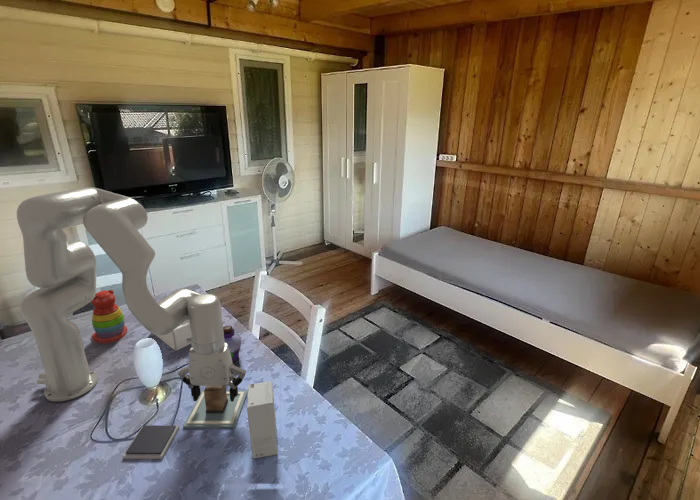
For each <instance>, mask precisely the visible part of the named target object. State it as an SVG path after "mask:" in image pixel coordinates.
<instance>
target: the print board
mask: <svg viewBox="0 0 700 500" xmlns="http://www.w3.org/2000/svg"><path fill="white" fill-rule="evenodd" d="M200 392H201V394H200V396H199V398H198V399H197V401H195V402H194V405H193V407H192V409H191V410H190V412H189V414H188V416H187V418H186V420H185V421H184V424H183V425H182V428H183V429H236V426H237V423H238V420H239V418H240V415H241V413H242V409H243V406H244V404H245V402H246V398H247V395H248V390H238V395H237V397H235V399H234V401H233V402H231V401H230V391H229V390H226V393H227V399H228V403H227V405H226V408H225V410H224V412H223V413H206V404H205V397H204V390H200Z"/></svg>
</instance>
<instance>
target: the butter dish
mask: <svg viewBox="0 0 700 500" xmlns="http://www.w3.org/2000/svg"><path fill="white" fill-rule="evenodd" d="M155 336H156V338H158V339H160V340H161V341H162V342H164V343H165V344H166V345H167V346H169V347H170V348H171V349H172V350H174V351H175V352H177V351H179V350H181V349H183V348H185V347H187V346H189V345H191V344H190V343H187V338H191V330H190V323H189V320H186V321H184V322H183V323H182V324H181V325H180V326H178V327H177V328H176V329H175V330H173V331H172V332H171V333H169V334H167V335H162V336H160V335H155Z"/></svg>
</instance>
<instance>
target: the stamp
mask: <svg viewBox="0 0 700 500" xmlns="http://www.w3.org/2000/svg"><path fill="white" fill-rule="evenodd" d="M203 391H204V397H205V404H206V413H223V412H224V410H225V408H226V405H227V403H228V399H227V393H226V391H227V385H224V386H205V388H204V390H203Z"/></svg>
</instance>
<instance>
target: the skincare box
mask: <svg viewBox="0 0 700 500" xmlns="http://www.w3.org/2000/svg"><path fill="white" fill-rule="evenodd" d="M247 386H248V387H247V388H248V390H247V392H248V393H247V396H246V398H247V405H246V411H247V419H248V421H247V422H248V428H249V429H248V430H249V436H250V437H249V438H250V443H251V453H252V459H258V458H264V457H272V456H277V455H278V443H277V420H276V410H275V409H276V408H275V400H274V399H275V398H274V391H273V390H274V389H273V381H272V380H271V381H270V380H269V381H264V382H257V383H252V384H248V385H247Z"/></svg>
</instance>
